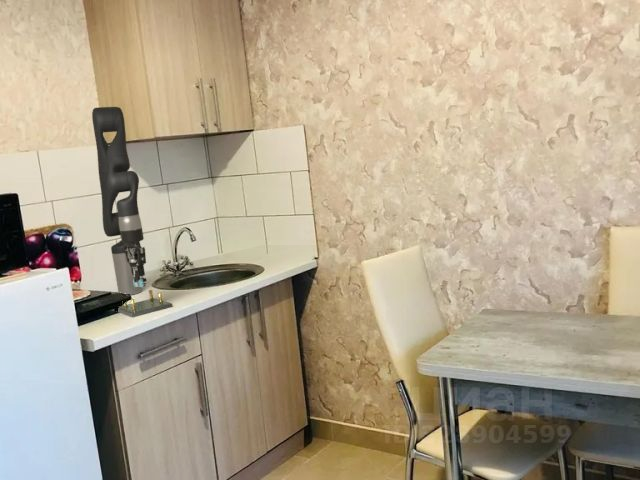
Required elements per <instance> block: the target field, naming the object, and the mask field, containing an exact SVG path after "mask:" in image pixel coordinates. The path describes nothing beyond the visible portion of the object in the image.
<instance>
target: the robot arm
mask: <svg viewBox="0 0 640 480" xmlns="http://www.w3.org/2000/svg"><path fill="white" fill-rule="evenodd" d="M91 114H92V115H91V119H92V126H93V131H94V138H95V139H94V140H95V144H96V145H95V147H96V151H97V152H96V154H97V167H98V168H97V169H98V178H99V179H98V180H99V184H100V185H99V187H100V192H101V194H100V195H101V205H102V206H101V207H102V208H101V209H102V212H101V213H102V227H103V231H104V232H103V233H104V234H105V235H106V237H108V238H109V237H111V238H112V237H117V236H120V238H121V240H120V241H118V242H117V243H115V244H113V245H111V249H110V250H111V256H112V262H113V267H114V274H115V280H116V286H117V292H121V293H126V294H130V295H129V296H131V295H137V294H139V293H142V292H143V287H134V284H133V280H134V271H133V268H132V267H130V264H129V262H130V261H131V259H133V260H135V262H136V265H137V271H138V276H143V277H145V275H146V272H145V264H146V263H147V259H146V257H147V256H146V255H147V254H146V248H145V246H144V247H142V246H141V241H143V240H144V239H145V238H144V232H143V227H142V226H143V224H142V221H141V217H140V216H141V215H140V212H139V205H138V191H139V186H140V185H139V184H140V183H139V182H140V178H139V175H138V174H137V172H136V171H134V170H130V168H131V163H130V159H129V154H128V150H127V135H126V126H125V125H126V124H125V123H126V122H125V118H124V117H125V116H124V112H123V110H122V108H121V107H119V106H104V107H103V106H99V107H94V108H93V109H92V113H91ZM115 132H116V134H115V136H114V137H113V139H112V141H111V142H110V144H108V142H107V141H106V138H105V136H104V133H115ZM126 192H129V194H128V196H126V197H123V198H121V199H119V200H117V201H116V199H117V198H118V195H119V194H120V193H126ZM115 201H116V210H117V212H113V210H114V209H113V207H114V205H115ZM140 260H141V261H140Z"/></svg>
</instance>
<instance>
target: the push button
mask: <svg viewBox="0 0 640 480" xmlns="http://www.w3.org/2000/svg"><path fill="white" fill-rule="evenodd" d="M140 261H141V260H140ZM129 264H130V267H132V268H133V271H134V280H133V284H134V287H142V288H143V287H146V286H149V284H148V281H147V278H146V277H144V276H138V271H137V265H136V262H135V260H133V259H131V261H130V262H129Z"/></svg>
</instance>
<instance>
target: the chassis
mask: <svg viewBox="0 0 640 480" xmlns="http://www.w3.org/2000/svg"><path fill="white" fill-rule="evenodd" d="M153 292H154V291H153V289H150V290H148V294H149V299H145V300H140V301H137V302H135V299H134V298H133V299H130V303H129V304H127V303H128V302H127V301H126V302H125V303H124V304H123V303H122V306H121V305H120V306H121V307H120V306H118V307H119V308H118V312H117V313H119V314H122V315H125V316H128V317H131V318H135V317H140V316H142V315H147V314H151V313H154V312H158V311H162V310H166V309H169V308H173V303H172V302H169V301H166V300H163V295H162V292H157V295H158V298H156V297H154V294H153Z"/></svg>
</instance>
